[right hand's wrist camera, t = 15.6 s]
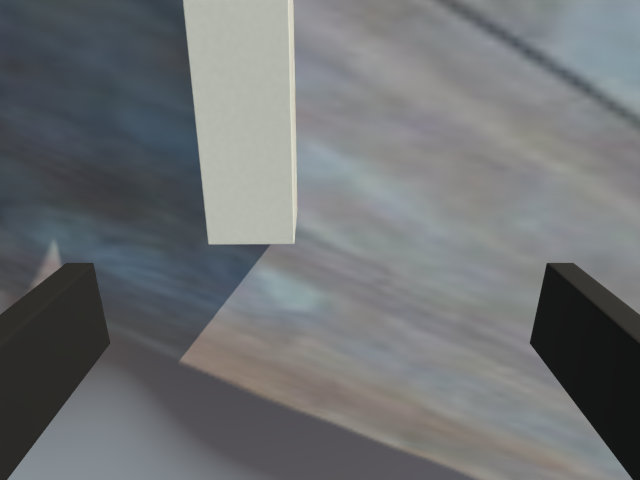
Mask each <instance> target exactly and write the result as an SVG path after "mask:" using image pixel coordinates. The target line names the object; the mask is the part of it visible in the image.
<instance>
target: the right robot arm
mask: <svg viewBox="0 0 640 480" xmlns="http://www.w3.org/2000/svg"><path fill="white" fill-rule="evenodd" d="M109 344H110V340H109V335H108V331H107V326H106V321H105V317H104V312H103V307H102V303H101V298H100V293H99V289H98V284H97V279H96V275H95V270H94V265H93V263H66V264H65V265H63V266H62V267H61V268H60V269H58V270H57V271H56V272H54V273H53V274H52V275H51V276H49V277H48V278H47V279H46V280H44V281H43V282H42V283H40V284H39V285H38V286H37V287H35V288H34V289H33V290H31V291H30V292H29V293H28V294H26V295H25V296H24V297H22V298H21V299H20V300H19V301H17V302H16V303H15V304H14V305H12V306H11V307H10V308H8V309H7V310H6V311H5V312H3V313H2V314H1V315H0V480H7V479H8V478H9V476H10V475H11V474H12V472H13V471H14V470H15V469H16V467H17V466H18V464H19V463H20V462H21V461H22V459H23V458H24V457H25V455H26V454H27V453H28V451H29V450H30V449H31V447H32V446H33V445H34V443H35V442H36V441H37V439H38V438H39V437H40V435H41V434H42V433H43V431H44V430H45V429H46V427H47V426H48V425H49V423H50V422H51V421H52V420H53V418H54V417H55V416H56V414H57V413H58V412H59V410H60V409H61V408H62V406H63V405H64V404H65V402H66V401H67V400H68V398H69V397H70V396H71V394H72V393H73V392H74V390H75V389H76V388H77V386H78V385H79V384H80V382H81V381H82V380H83V378H84V377H85V376H86V374H87V373H88V372H89V370H90V369H91V368H92V367H93V365H94V364H95V363H96V361H97V360H98V359H99V357H100V356H101V355H102V353H103V352H104V351H105V349H106V348H107V347H108V345H109ZM530 344H531V345H532V347H533V348H534V349H535V351H536V352H537V353H538V355H539V356H540V357H541V359H542V360H543V361H544V363H545V364H546V365H547V367H548V368H549V369H550V371H551V372H552V373H553V374H554V376H555V377H556V378H557V380H558V381H559V382H560V384H561V385H562V386H563V388H564V389H565V390H566V392H567V393H568V394H569V396H570V397H571V398H572V400H573V401H574V402H575V404H576V405H577V406H578V408H579V409H580V410H581V412H582V413H583V414H584V416H585V417H586V418H587V420H588V421H589V422H590V423H591V425H592V426H593V427H594V429H595V430H596V431H597V433H598V434H599V435H600V437H601V438H602V439H603V441H604V442H605V443H606V445H607V446H608V447H609V449H610V450H611V451H612V453H613V454H614V455H615V457H616V458H617V459H618V461H619V462H620V463H621V465H622V466H623V467H624V469H625V470H626V471H627V472H628V474H629V475H630V476H631V478H632V479H633V480H640V315H639V314H638V313H637V312H635V311H634V310H633V309H632V308H630V307H629V306H628V305H626V304H625V303H624V302H623V301H621V300H620V299H619V298H618V297H616V296H615V295H614V294H612V293H611V292H610V291H609V290H607V289H606V288H605V287H603V286H602V285H601V284H600V283H598V282H597V281H596V280H594V279H593V278H592V277H591V276H589V275H588V274H587V273H585V272H584V271H583V270H582V269H580V268H579V267H578V266H577V265H575V264H574V263H547V265H546V270H545V274H544V279H543V284H542V289H541V293H540V298H539V303H538V307H537V312H536V317H535V321H534V326H533V331H532V335H531V340H530Z"/></svg>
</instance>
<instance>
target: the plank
mask: <svg viewBox="0 0 640 480" xmlns="http://www.w3.org/2000/svg"><path fill="white" fill-rule="evenodd" d="M183 8H184V17H185V27H186V36H187V46H188V56H189V65H190V75H191V84H192V94H193V103H194V113H195V122H196V132H197V141H198V151H199V161H200V170H201V180H202V189H203V199H204V208H205V218H206V227H207V237H208V244H209V245H225V244H294V239H295V229H296V218H297V174H296V120H295V67H294V14H293V0H183Z"/></svg>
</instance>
